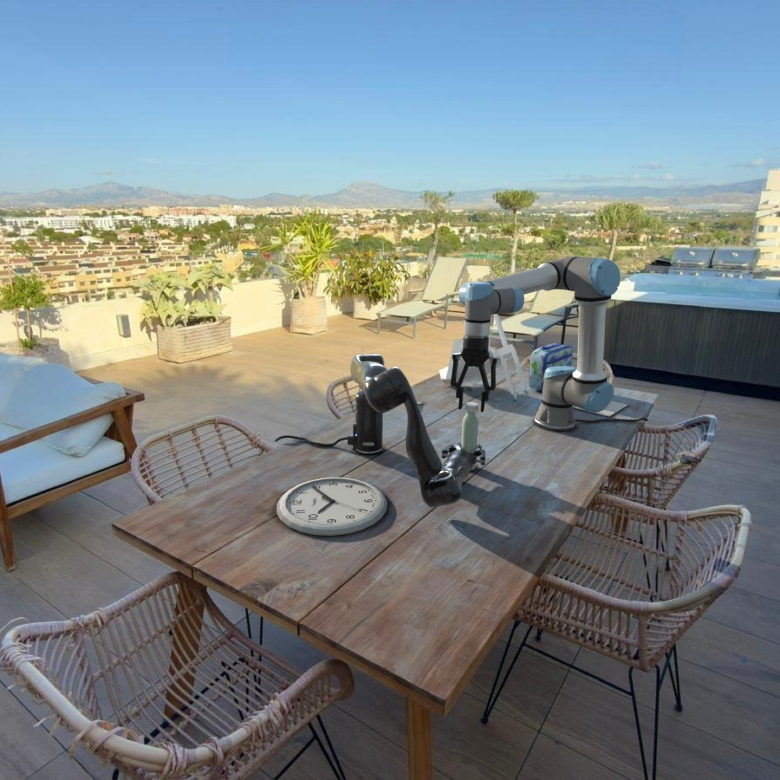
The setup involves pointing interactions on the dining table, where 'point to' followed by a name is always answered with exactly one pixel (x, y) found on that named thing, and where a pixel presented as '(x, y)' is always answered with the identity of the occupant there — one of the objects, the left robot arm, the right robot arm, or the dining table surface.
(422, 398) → the fork
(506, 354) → the white plastic object
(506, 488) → the dining table surface
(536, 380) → the lunch box
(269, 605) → the dining table surface
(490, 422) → the dining table surface
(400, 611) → the dining table surface
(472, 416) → the bottle
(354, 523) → the wall clock
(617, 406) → the invitation card
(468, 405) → the cap
